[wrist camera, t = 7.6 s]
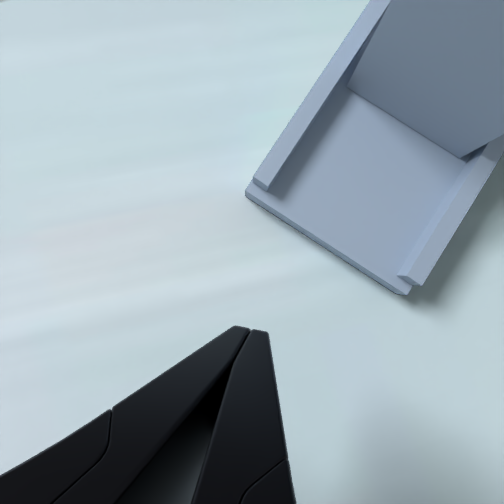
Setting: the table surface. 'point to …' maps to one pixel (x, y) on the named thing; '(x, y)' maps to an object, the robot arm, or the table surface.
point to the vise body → (368, 176)
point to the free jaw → (439, 70)
